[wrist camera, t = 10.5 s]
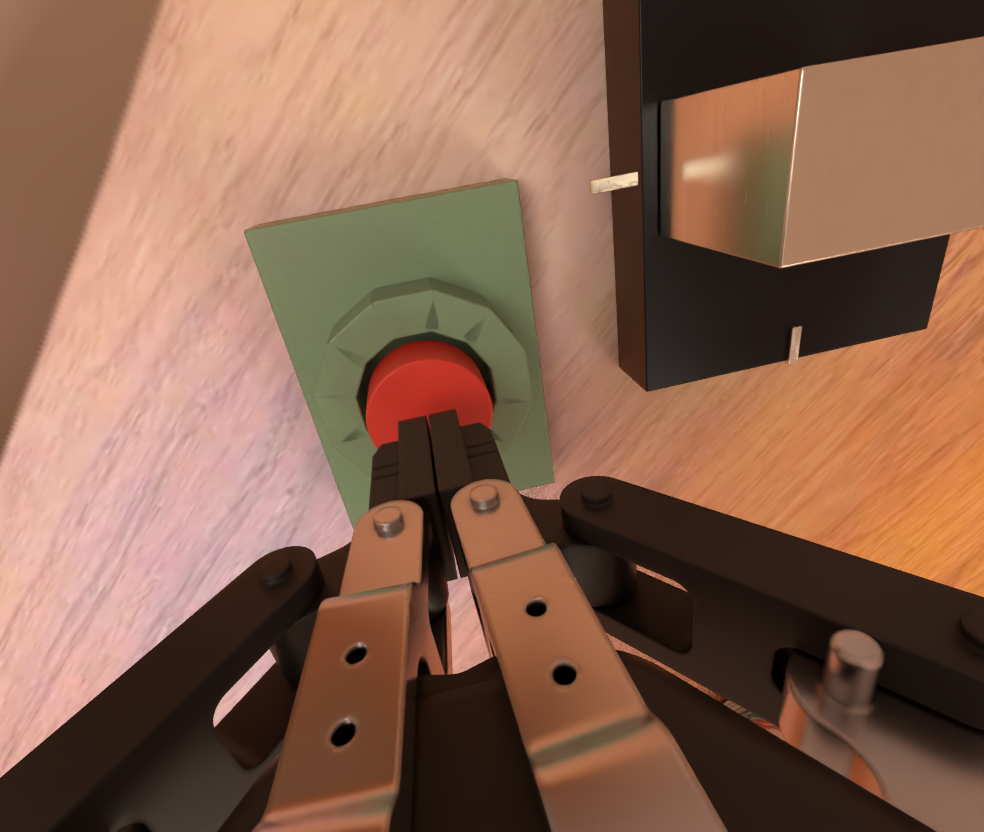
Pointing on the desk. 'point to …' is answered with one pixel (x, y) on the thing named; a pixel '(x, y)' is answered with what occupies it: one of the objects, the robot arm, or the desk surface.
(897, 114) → the silver metal block
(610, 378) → the desk surface
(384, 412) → the button
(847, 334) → the black flat square plate
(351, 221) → the green rectangular block
